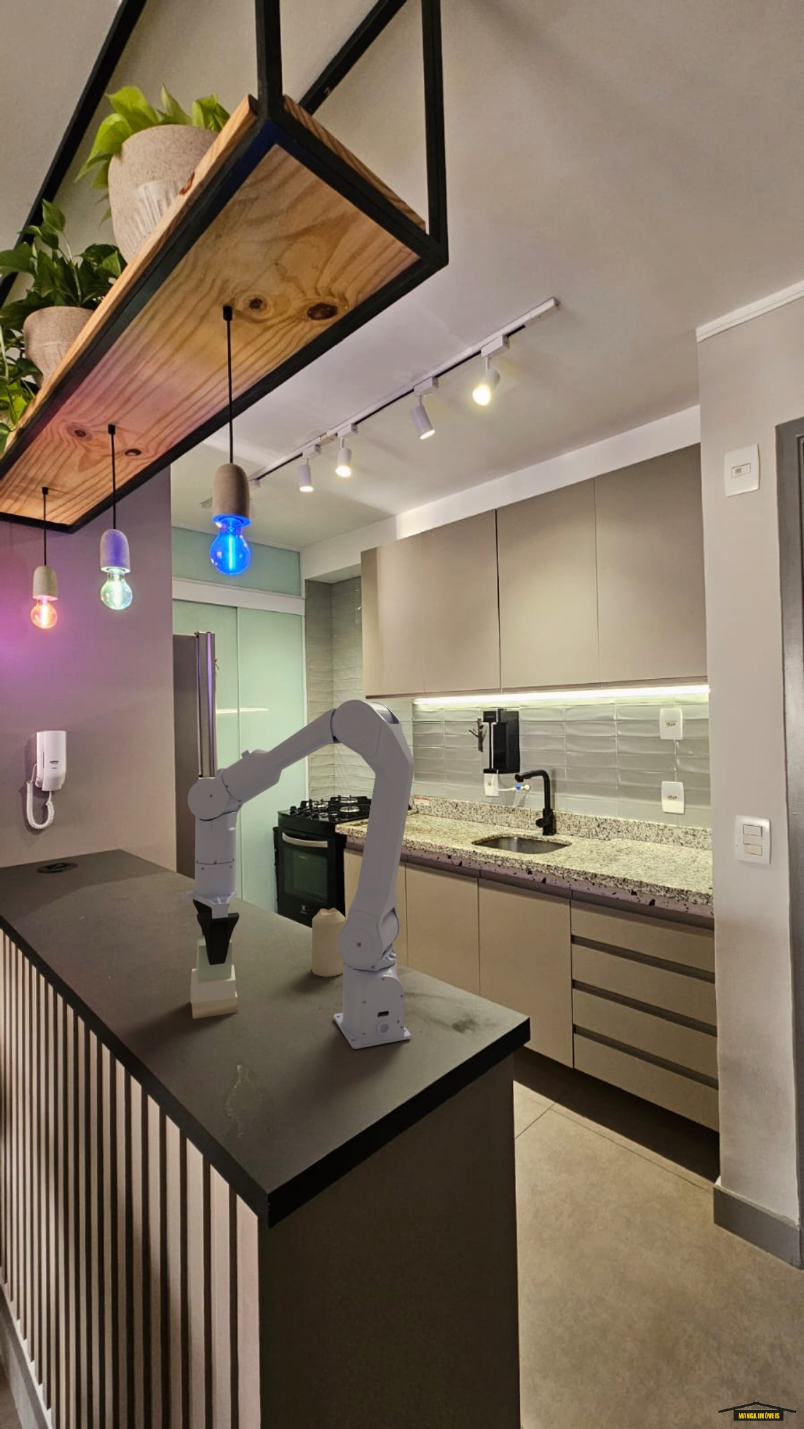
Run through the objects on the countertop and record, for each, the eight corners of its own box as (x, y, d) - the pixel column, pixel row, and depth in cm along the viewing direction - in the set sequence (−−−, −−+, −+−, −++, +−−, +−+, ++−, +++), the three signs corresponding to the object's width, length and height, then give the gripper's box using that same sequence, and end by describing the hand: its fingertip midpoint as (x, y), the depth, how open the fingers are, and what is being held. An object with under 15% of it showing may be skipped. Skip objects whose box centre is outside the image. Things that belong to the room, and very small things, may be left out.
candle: (305, 973, 104) (305, 912, 104) (324, 962, 109) (324, 903, 109) (333, 979, 101) (333, 916, 102) (351, 968, 106) (351, 908, 106)
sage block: (231, 977, 90) (232, 942, 90) (198, 981, 89) (199, 945, 89) (228, 966, 94) (228, 932, 95) (196, 970, 93) (197, 935, 93)
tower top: (235, 997, 89) (235, 980, 89) (190, 1003, 88) (190, 984, 88) (233, 981, 95) (233, 964, 95) (191, 985, 93) (191, 968, 93)
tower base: (237, 1014, 90) (237, 996, 90) (193, 1021, 88) (193, 1003, 88) (232, 997, 95) (233, 980, 95) (190, 1003, 93) (191, 986, 93)
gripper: (184, 852, 97) (182, 941, 97) (189, 873, 84) (188, 976, 84) (231, 849, 100) (230, 936, 100) (243, 869, 86) (242, 969, 86)
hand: (214, 954), depth 92 cm, fingers open, 7 cm apart
